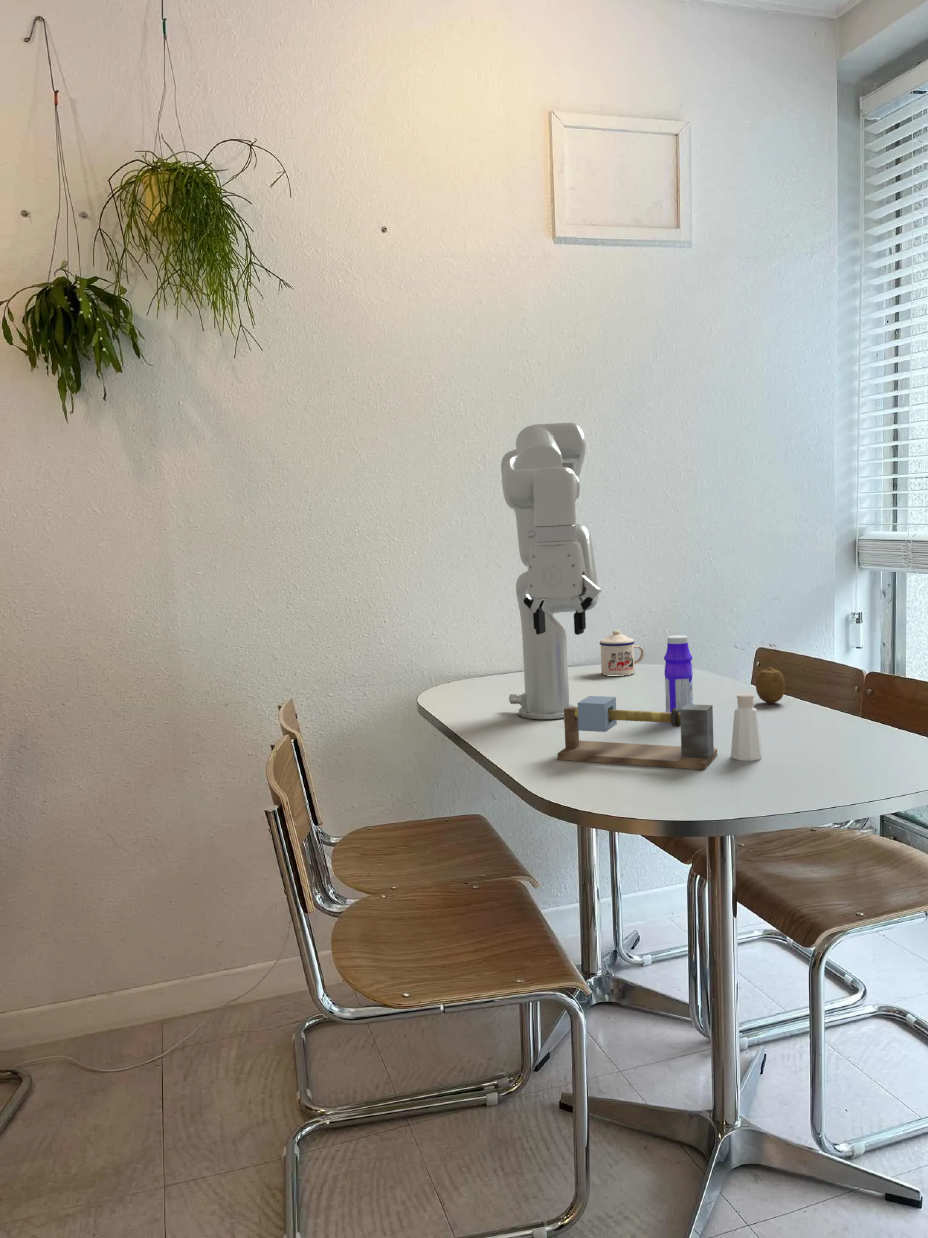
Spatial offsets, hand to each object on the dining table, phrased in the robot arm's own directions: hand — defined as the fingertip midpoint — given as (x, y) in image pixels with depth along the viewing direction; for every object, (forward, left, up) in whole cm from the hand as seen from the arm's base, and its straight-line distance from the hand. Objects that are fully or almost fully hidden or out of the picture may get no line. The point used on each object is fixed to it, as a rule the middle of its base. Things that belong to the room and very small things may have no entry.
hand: (559, 632), depth 179 cm
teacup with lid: (-14, +80, -22) cm, 84 cm away
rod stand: (+14, -3, -22) cm, 26 cm away
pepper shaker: (+32, +2, -22) cm, 39 cm away
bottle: (+14, +28, -22) cm, 39 cm away
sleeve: (+7, -3, -17) cm, 19 cm away
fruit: (+29, +49, -22) cm, 61 cm away
